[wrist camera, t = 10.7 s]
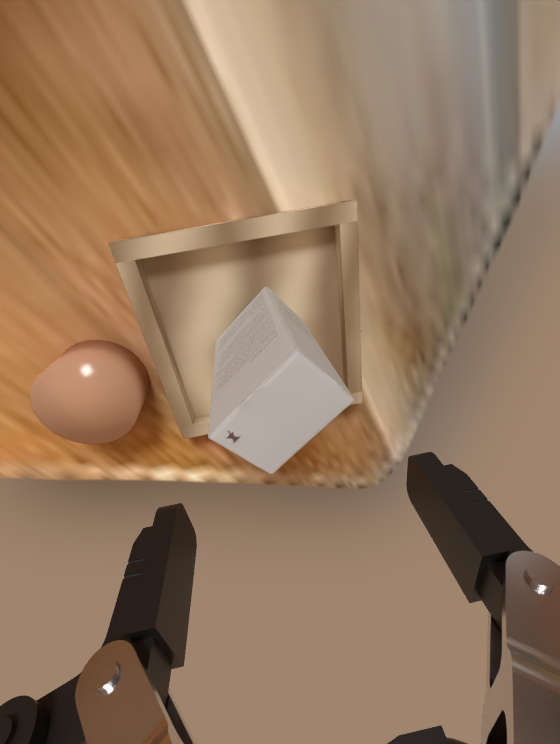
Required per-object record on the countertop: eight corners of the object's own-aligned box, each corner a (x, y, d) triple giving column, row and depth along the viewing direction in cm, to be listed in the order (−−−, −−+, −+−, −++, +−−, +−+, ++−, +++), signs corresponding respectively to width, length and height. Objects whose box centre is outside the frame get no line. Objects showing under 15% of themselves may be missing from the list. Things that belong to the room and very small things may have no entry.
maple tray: (346, 200, 22) (356, 200, 21) (354, 391, 30) (362, 402, 28) (118, 240, 22) (108, 243, 20) (185, 424, 29) (183, 439, 28)
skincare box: (254, 371, 27) (269, 479, 16) (214, 340, 25) (202, 439, 15) (306, 319, 25) (358, 402, 15) (266, 282, 24) (295, 347, 13)
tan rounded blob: (131, 331, 25) (115, 352, 21) (161, 404, 28) (151, 433, 25) (40, 349, 25) (9, 373, 21) (81, 421, 28) (60, 452, 24)
